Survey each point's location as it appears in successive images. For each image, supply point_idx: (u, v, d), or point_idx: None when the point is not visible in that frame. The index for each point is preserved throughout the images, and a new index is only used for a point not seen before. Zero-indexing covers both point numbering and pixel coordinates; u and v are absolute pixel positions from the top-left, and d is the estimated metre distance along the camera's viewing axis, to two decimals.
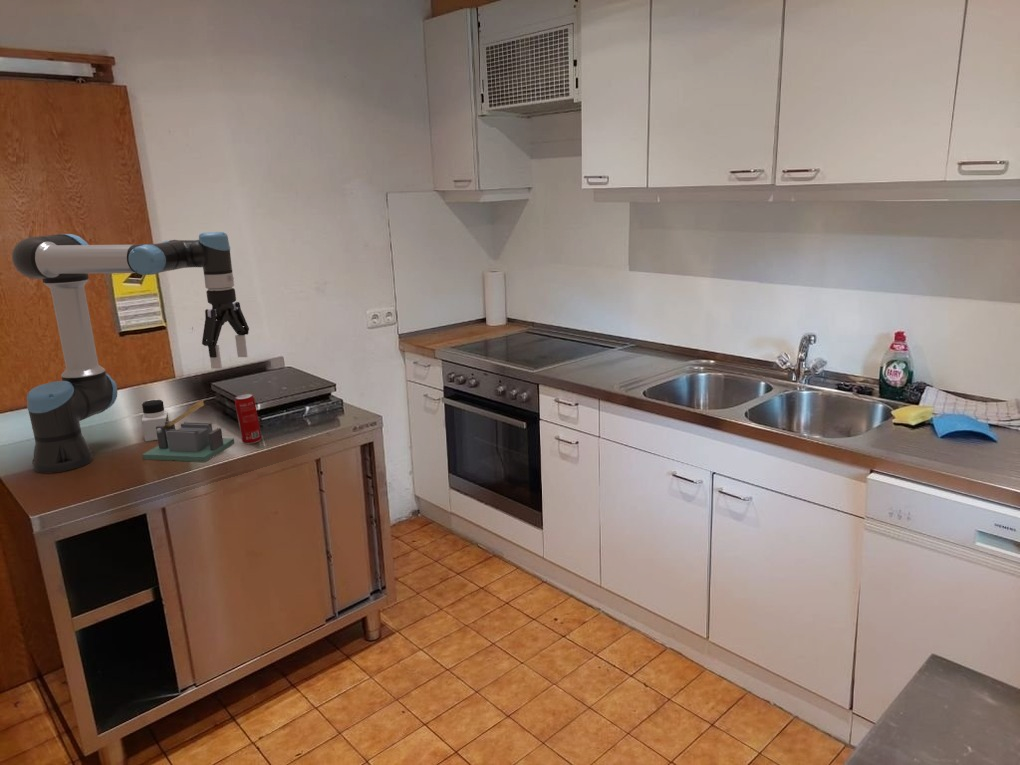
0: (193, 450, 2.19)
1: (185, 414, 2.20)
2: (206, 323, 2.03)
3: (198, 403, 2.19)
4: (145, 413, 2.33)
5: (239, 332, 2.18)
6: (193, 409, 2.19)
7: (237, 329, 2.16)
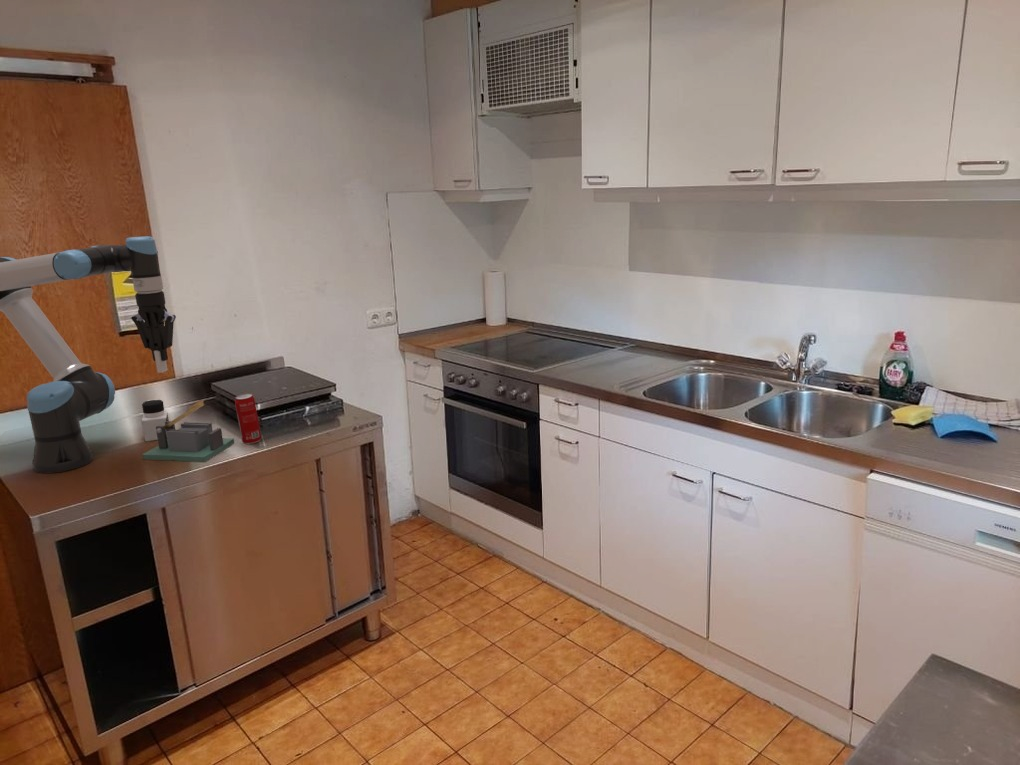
0: (193, 450, 2.19)
1: (185, 414, 2.20)
2: None
3: (198, 403, 2.19)
4: (145, 413, 2.33)
5: None
6: (193, 409, 2.19)
7: None
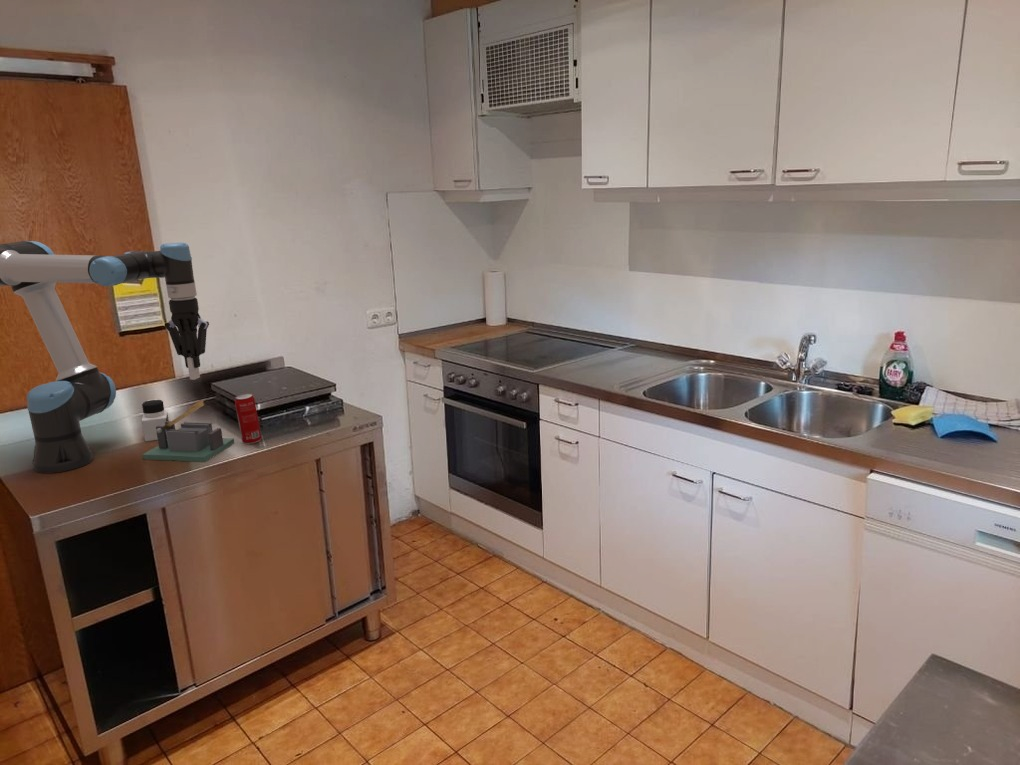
0: (193, 450, 2.19)
1: (185, 414, 2.20)
2: None
3: (198, 403, 2.19)
4: (145, 413, 2.33)
5: None
6: (193, 409, 2.19)
7: None
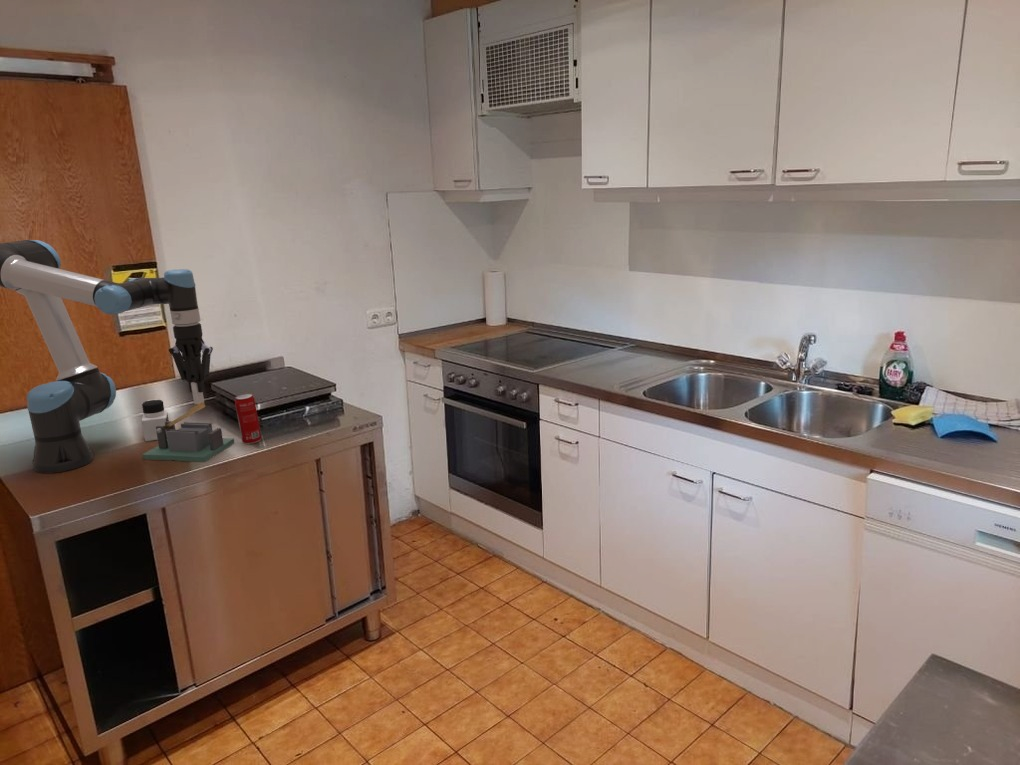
0: (193, 450, 2.19)
1: (186, 415, 2.20)
2: None
3: (199, 405, 2.19)
4: (145, 413, 2.33)
5: None
6: (194, 410, 2.19)
7: None
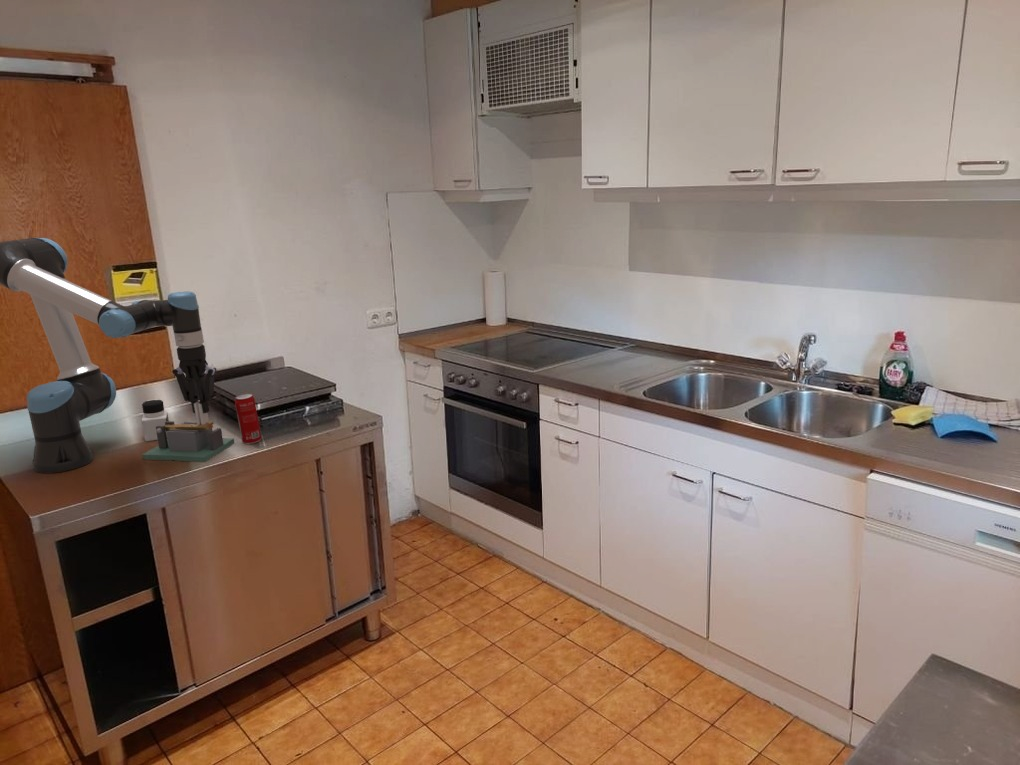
0: (193, 450, 2.19)
1: (191, 428, 2.21)
2: None
3: (208, 425, 2.20)
4: (145, 413, 2.33)
5: None
6: (201, 428, 2.20)
7: None
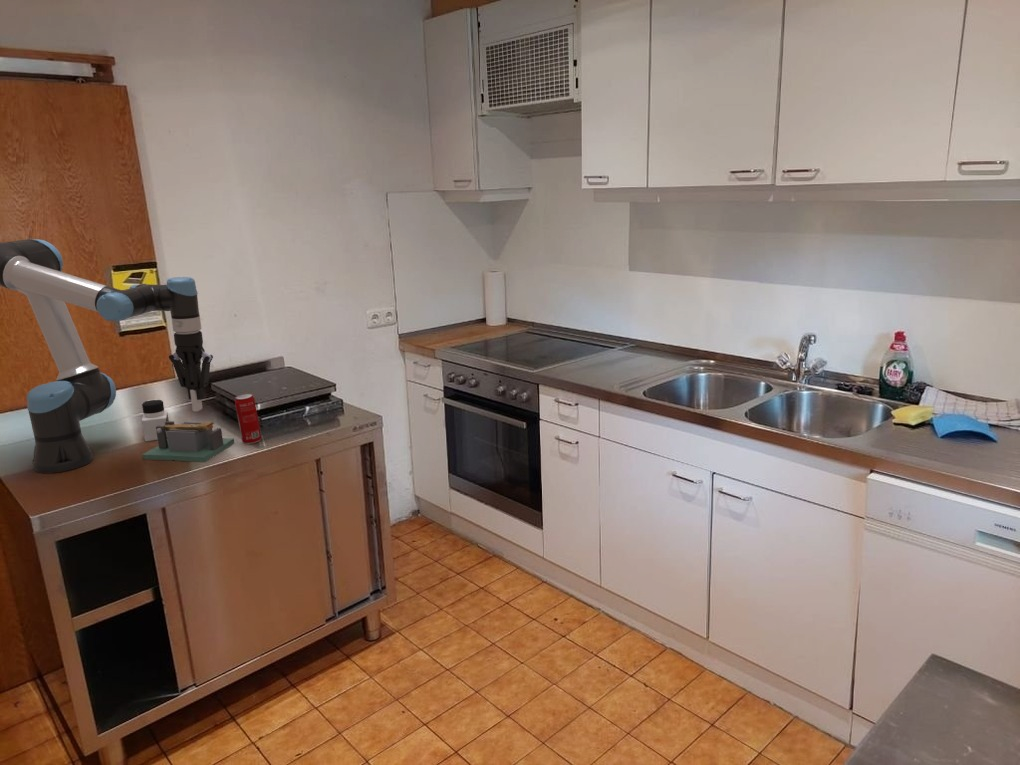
0: (193, 450, 2.19)
1: (191, 428, 2.21)
2: None
3: (208, 425, 2.20)
4: (145, 413, 2.33)
5: None
6: (201, 428, 2.20)
7: None
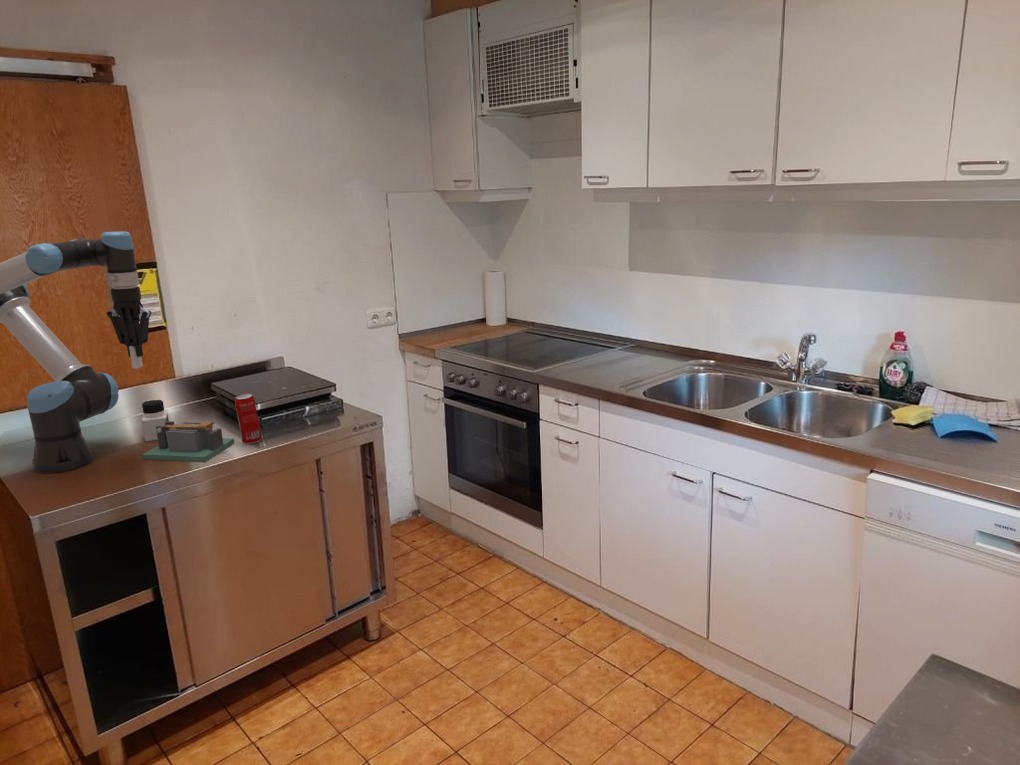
0: (193, 450, 2.19)
1: (191, 428, 2.21)
2: None
3: (208, 425, 2.20)
4: (145, 413, 2.33)
5: None
6: (201, 428, 2.20)
7: None
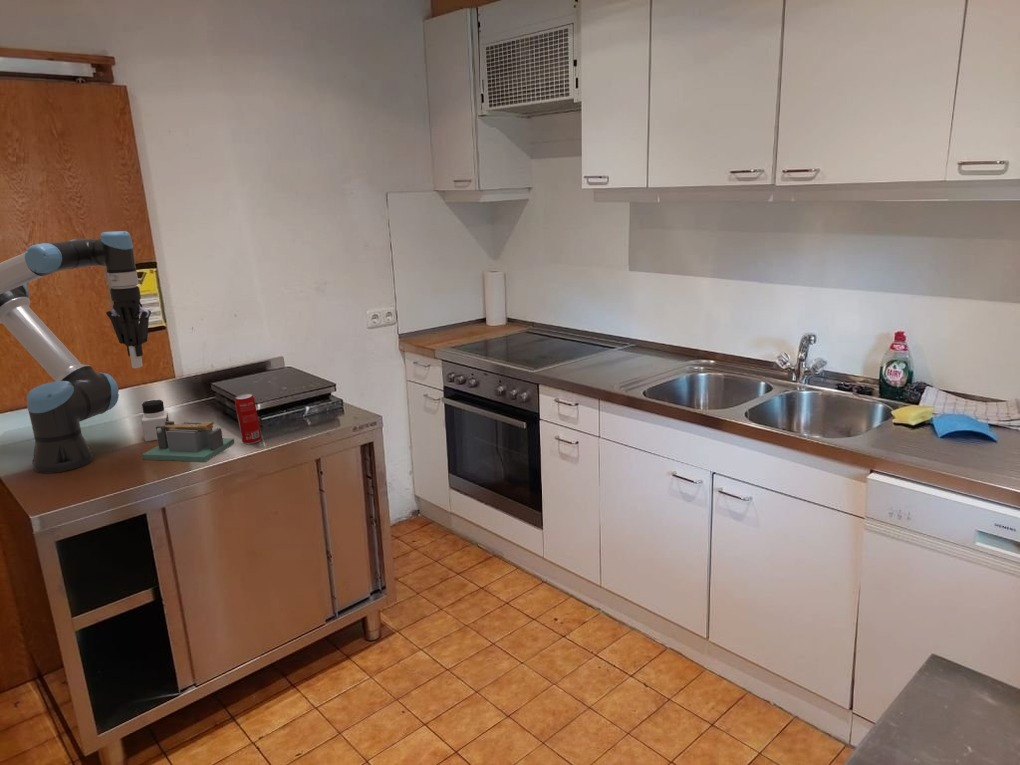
0: (193, 450, 2.19)
1: (191, 428, 2.21)
2: None
3: (208, 425, 2.20)
4: (145, 413, 2.33)
5: None
6: (201, 428, 2.20)
7: None
